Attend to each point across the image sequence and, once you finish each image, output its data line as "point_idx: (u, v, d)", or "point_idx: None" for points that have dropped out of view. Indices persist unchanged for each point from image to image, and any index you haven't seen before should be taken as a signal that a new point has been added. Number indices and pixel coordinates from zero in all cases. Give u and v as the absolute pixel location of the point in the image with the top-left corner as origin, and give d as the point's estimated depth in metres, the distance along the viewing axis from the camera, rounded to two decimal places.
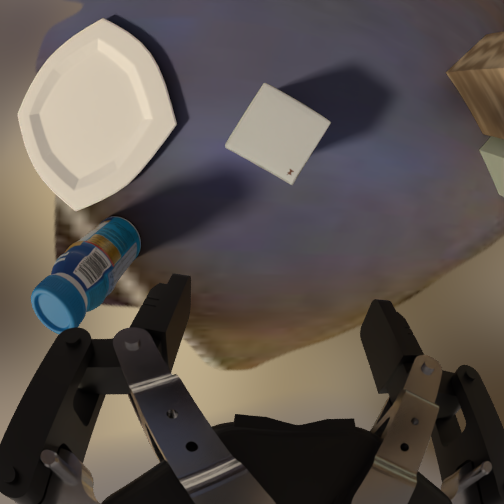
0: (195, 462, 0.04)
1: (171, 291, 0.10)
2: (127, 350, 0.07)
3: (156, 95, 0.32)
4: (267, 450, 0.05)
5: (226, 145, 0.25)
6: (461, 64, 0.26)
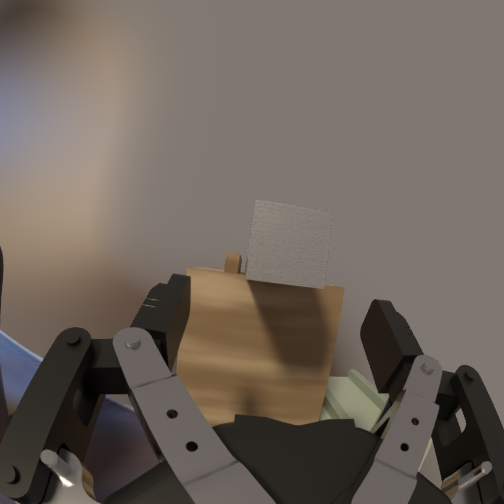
0: (195, 462, 0.04)
1: (171, 291, 0.10)
2: (127, 350, 0.07)
3: None
4: (267, 450, 0.05)
5: None
6: None
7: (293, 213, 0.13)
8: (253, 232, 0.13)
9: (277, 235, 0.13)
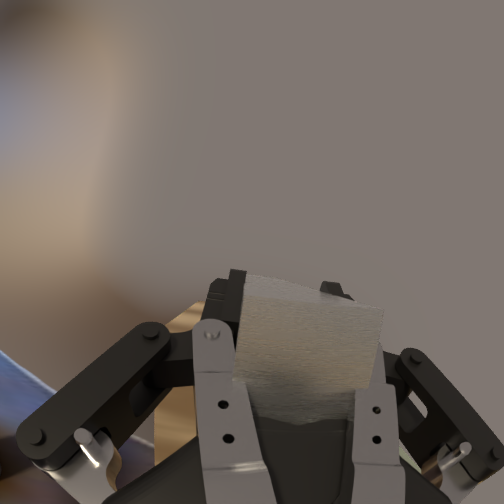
0: (225, 453, 0.05)
1: (234, 285, 0.11)
2: (210, 340, 0.08)
3: None
4: (267, 450, 0.05)
5: None
6: None
7: (315, 319, 0.07)
8: (239, 356, 0.06)
9: (283, 360, 0.07)
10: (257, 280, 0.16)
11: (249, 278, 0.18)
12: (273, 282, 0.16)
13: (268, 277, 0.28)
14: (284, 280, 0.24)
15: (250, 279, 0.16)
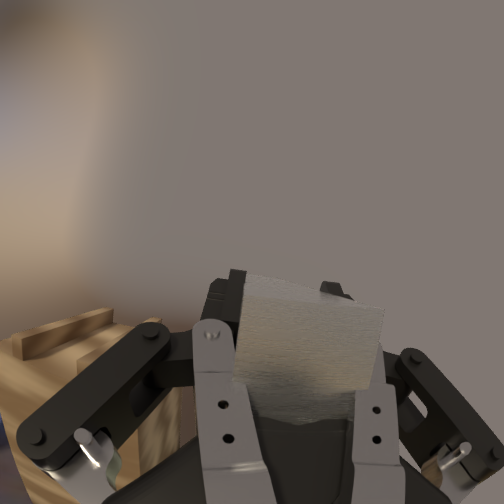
0: (224, 454, 0.05)
1: (234, 285, 0.11)
2: (210, 340, 0.08)
3: None
4: (267, 450, 0.05)
5: None
6: None
7: (315, 319, 0.07)
8: (238, 356, 0.06)
9: (282, 361, 0.06)
10: (257, 280, 0.16)
11: (249, 278, 0.18)
12: (273, 282, 0.16)
13: (268, 277, 0.27)
14: (284, 280, 0.24)
15: (250, 279, 0.16)
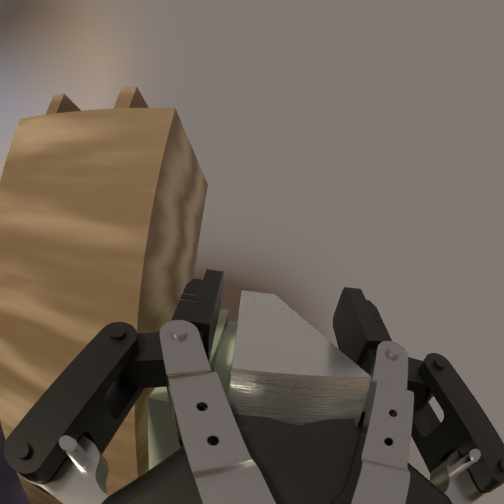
0: (212, 456, 0.05)
1: (208, 286, 0.11)
2: (176, 342, 0.08)
3: None
4: (267, 450, 0.05)
5: None
6: None
7: (301, 388, 0.06)
8: None
9: None
10: (252, 311, 0.16)
11: (245, 306, 0.18)
12: (268, 313, 0.16)
13: (265, 295, 0.27)
14: (281, 301, 0.24)
15: (245, 310, 0.16)
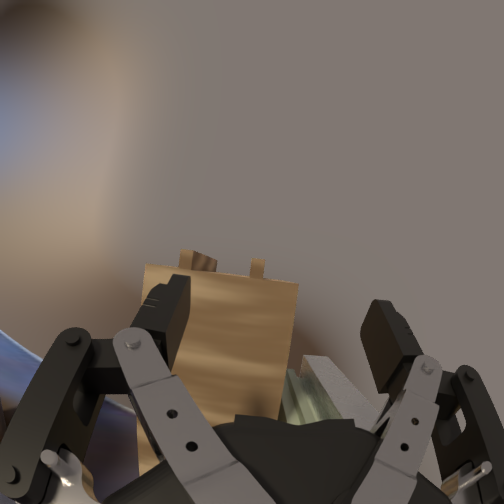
0: (195, 462, 0.04)
1: (171, 291, 0.10)
2: (127, 350, 0.07)
3: None
4: (267, 450, 0.05)
5: None
6: None
7: None
8: None
9: None
10: (335, 394, 0.24)
11: (327, 388, 0.26)
12: (344, 393, 0.24)
13: (324, 362, 0.35)
14: (339, 370, 0.32)
15: (331, 393, 0.24)
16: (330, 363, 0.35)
